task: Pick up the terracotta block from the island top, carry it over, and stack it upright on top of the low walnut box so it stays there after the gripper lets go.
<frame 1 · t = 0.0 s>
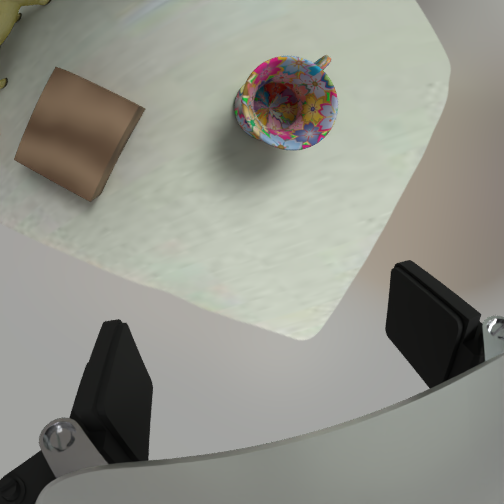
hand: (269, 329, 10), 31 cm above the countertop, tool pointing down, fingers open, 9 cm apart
toy: (23, 29, 26), on the countertop
mug: (274, 100, 37), on the countertop
walnut box: (84, 131, 34), on the countertop
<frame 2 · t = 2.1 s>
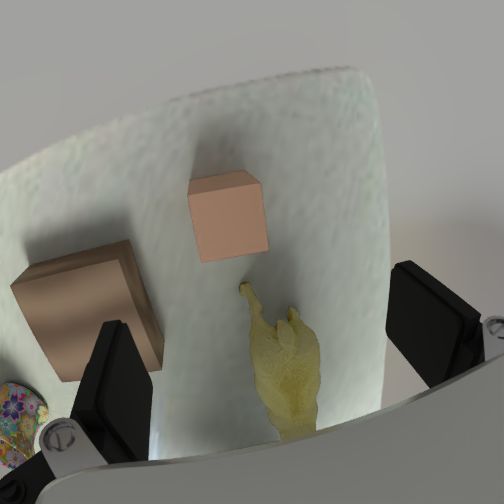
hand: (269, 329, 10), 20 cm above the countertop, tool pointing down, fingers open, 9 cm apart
toy: (270, 342, 36), on the countertop
mug: (29, 405, 34), on the countertop
terracotta block: (222, 201, 29), on the countertop
walnut box: (95, 303, 30), on the countertop
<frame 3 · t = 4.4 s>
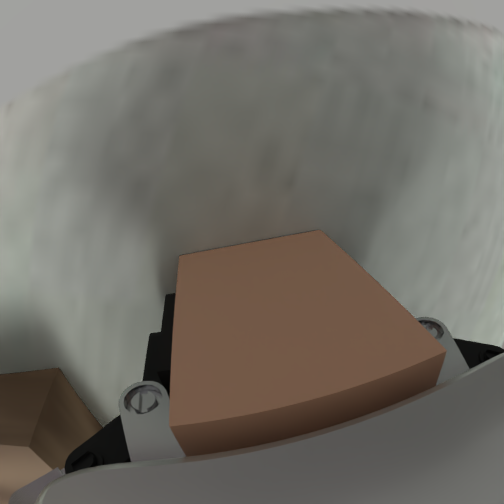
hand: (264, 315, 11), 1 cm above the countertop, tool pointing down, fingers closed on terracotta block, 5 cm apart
terracotta block: (260, 303, 12), on the countertop, touching gripper
walnut box: (40, 440, 14), on the countertop
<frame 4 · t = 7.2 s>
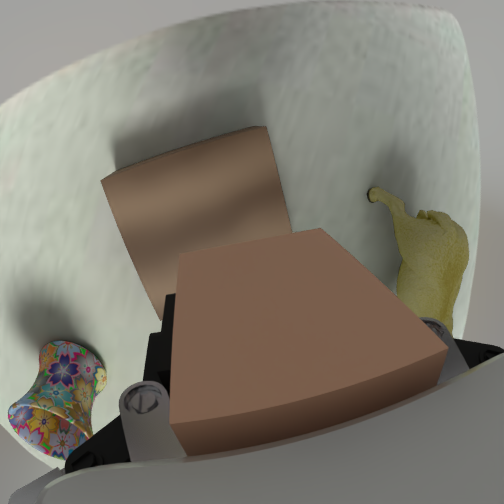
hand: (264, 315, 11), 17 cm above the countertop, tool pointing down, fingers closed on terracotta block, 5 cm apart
toy: (386, 262, 33), on the countertop
mug: (78, 372, 31), on the countertop
terracotta block: (260, 302, 12), point 16 cm above the countertop, touching gripper
walnut box: (204, 212, 27), on the countertop
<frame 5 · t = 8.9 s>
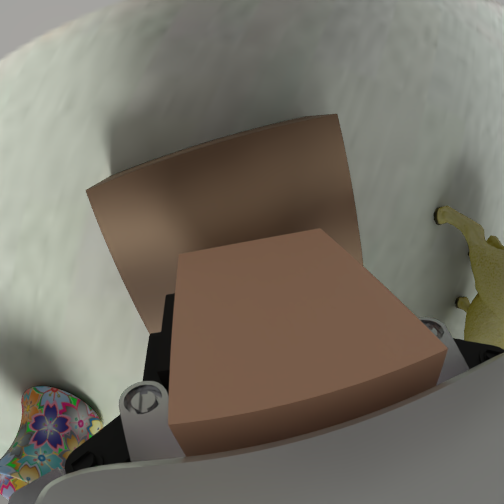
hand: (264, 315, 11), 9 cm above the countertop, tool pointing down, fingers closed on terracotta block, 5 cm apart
toy: (443, 293, 25), on the countertop
mug: (69, 419, 24), on the countertop
terracotta block: (259, 302, 12), point 8 cm above the countertop, touching gripper
walnut box: (235, 234, 20), on the countertop
when the fingers open (7 cm above the countertop, at t = 10.1 s): terracotta block drops 2 cm, resting on walnut box.
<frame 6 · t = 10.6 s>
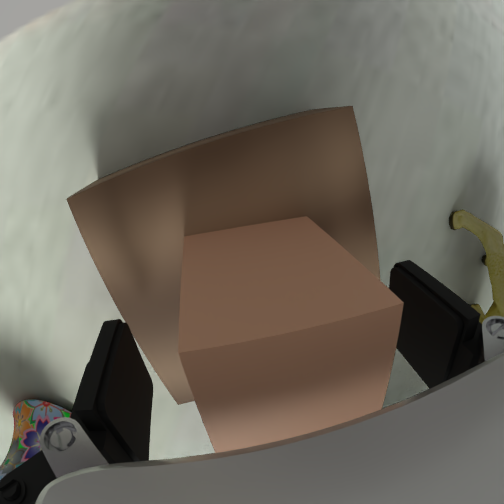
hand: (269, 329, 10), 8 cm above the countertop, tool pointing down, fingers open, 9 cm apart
toy: (455, 301, 23), on the countertop
mug: (63, 431, 22), on the countertop
terracotta block: (253, 281, 14), point 5 cm above the countertop, touching walnut box
walnut box: (237, 241, 18), on the countertop, touching terracotta block
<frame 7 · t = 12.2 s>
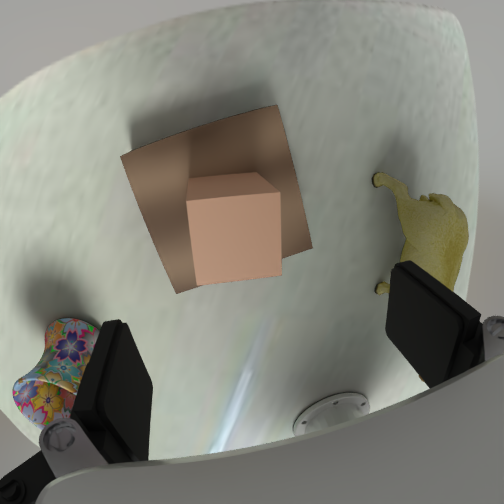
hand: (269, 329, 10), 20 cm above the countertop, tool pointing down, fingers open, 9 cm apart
toy: (389, 246, 34), on the countertop
mug: (83, 352, 32), on the countertop
terracotta block: (225, 207, 24), point 5 cm above the countertop, touching walnut box
walnut box: (217, 189, 28), on the countertop, touching terracotta block
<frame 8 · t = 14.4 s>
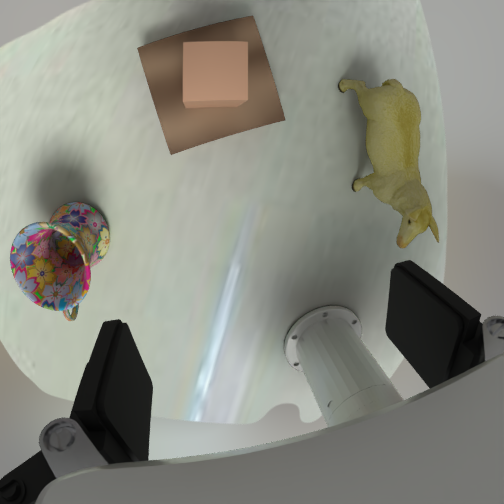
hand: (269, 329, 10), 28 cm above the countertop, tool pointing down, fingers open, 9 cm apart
toy: (360, 146, 38), on the countertop
mug: (82, 243, 36), on the countertop
terracotta block: (211, 83, 28), point 5 cm above the countertop, touching walnut box
walnut box: (209, 86, 32), on the countertop, touching terracotta block
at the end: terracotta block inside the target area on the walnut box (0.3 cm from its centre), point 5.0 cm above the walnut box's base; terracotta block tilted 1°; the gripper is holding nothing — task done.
